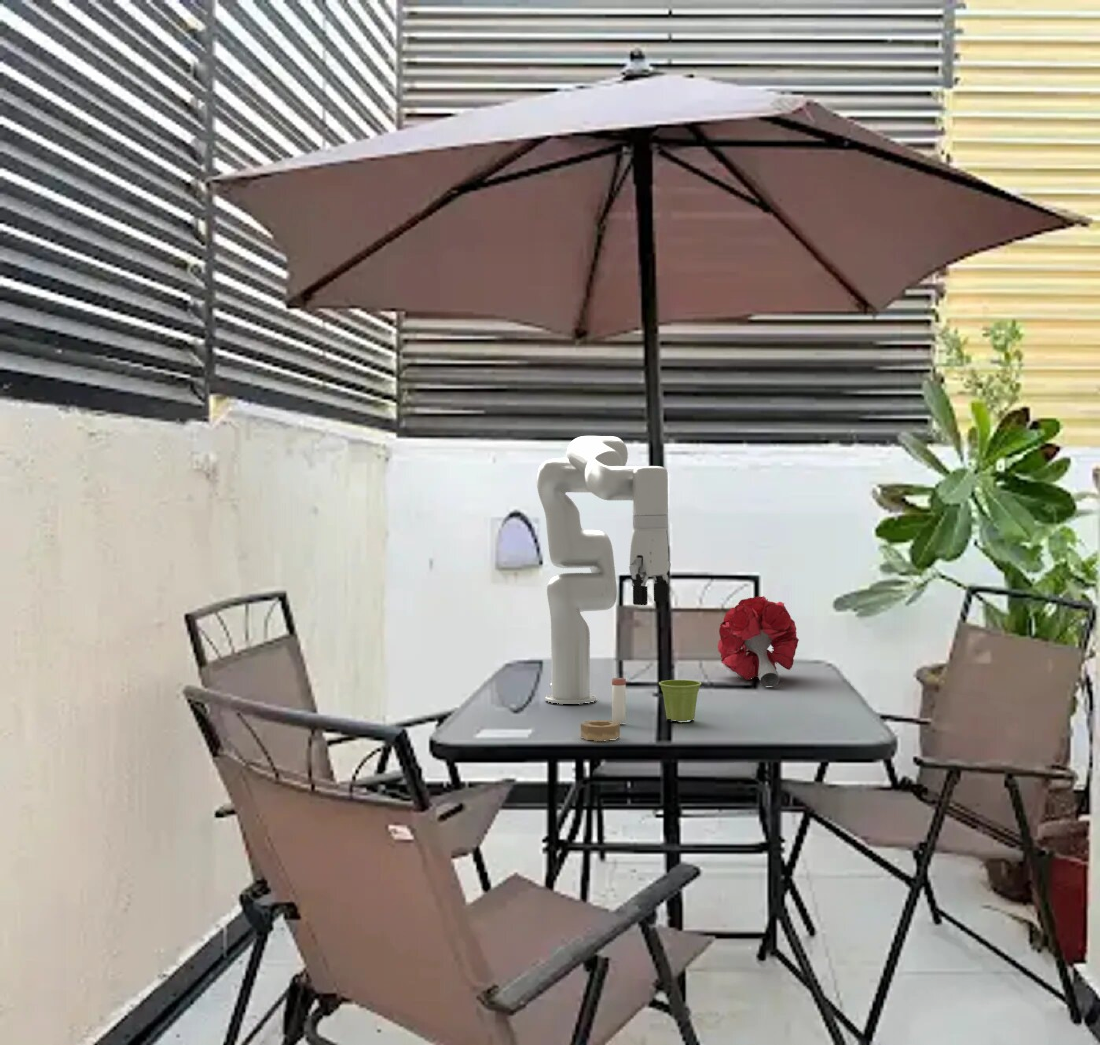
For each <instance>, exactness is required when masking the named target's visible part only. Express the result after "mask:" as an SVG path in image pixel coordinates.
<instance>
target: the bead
mask: <svg viewBox="0 0 1100 1045" xmlns="http://www.w3.org/2000/svg"><path fill="white" fill-rule="evenodd" d="M620 727H621V725H620V723H617V722H614V721H612V720H603V719H598V720H597V719H596V720H586V721H583V722H581V723H580V738H581V737H583V738H584V739H587V740H594V741H593V742H597V741H604V740H610V739H616V738H617V737H619V736H620V737H621V735H620V734H621V733H620V732H621V730H620ZM584 739H583V740H584ZM587 740H586V741H587Z"/></svg>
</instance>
